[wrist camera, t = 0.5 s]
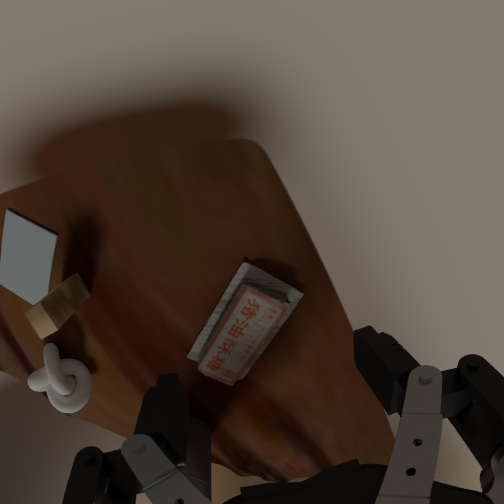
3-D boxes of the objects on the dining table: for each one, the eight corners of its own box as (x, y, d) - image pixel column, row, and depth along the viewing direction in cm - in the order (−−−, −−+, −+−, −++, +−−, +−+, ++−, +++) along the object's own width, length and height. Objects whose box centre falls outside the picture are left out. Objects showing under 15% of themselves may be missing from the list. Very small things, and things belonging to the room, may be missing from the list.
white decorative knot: (106, 364, 42) (89, 398, 33) (88, 398, 44) (74, 429, 35) (53, 328, 39) (29, 356, 31) (42, 367, 41) (22, 394, 33)
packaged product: (243, 394, 40) (183, 371, 38) (241, 375, 45) (186, 353, 43) (311, 303, 37) (245, 270, 35) (301, 289, 42) (242, 258, 39)
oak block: (90, 294, 38) (58, 330, 28) (74, 304, 38) (41, 339, 28) (77, 272, 37) (40, 302, 26) (61, 282, 37) (24, 313, 27)
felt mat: (47, 311, 38) (46, 312, 38) (0, 282, 36) (-1, 283, 35) (58, 235, 35) (56, 236, 35) (7, 209, 33) (6, 209, 32)
